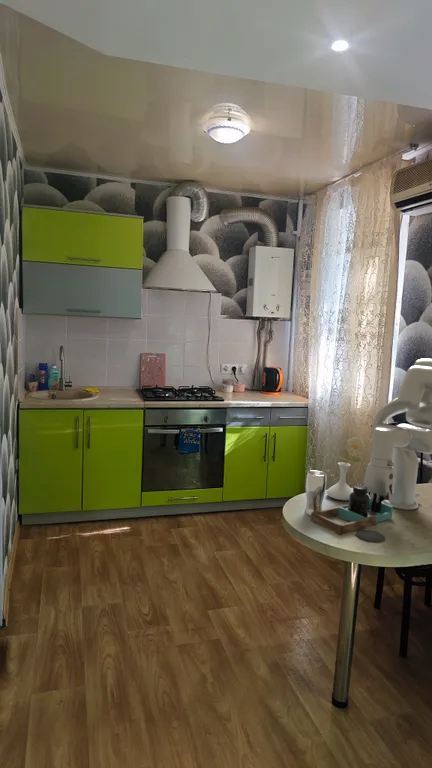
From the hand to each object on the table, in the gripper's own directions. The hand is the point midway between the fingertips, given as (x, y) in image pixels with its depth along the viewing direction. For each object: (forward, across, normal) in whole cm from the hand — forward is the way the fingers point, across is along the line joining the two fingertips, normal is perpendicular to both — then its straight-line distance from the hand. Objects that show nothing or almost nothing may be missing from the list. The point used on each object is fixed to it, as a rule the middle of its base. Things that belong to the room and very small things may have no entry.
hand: (375, 511), depth 188 cm
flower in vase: (+2, +18, -4) cm, 18 cm away
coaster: (+1, -12, +18) cm, 22 cm away
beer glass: (+2, +11, +20) cm, 23 cm away
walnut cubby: (+1, 0, +17) cm, 17 cm away
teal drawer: (+1, 0, +6) cm, 7 cm away
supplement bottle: (+2, 0, +10) cm, 10 cm away
